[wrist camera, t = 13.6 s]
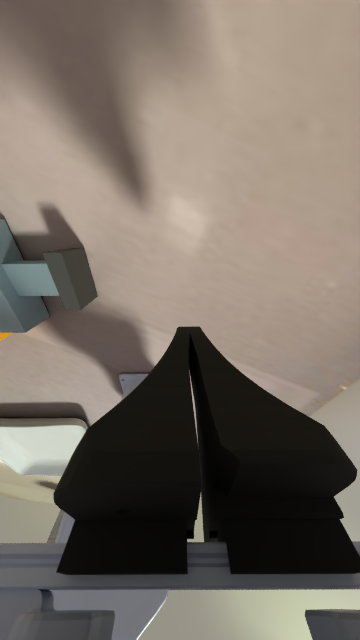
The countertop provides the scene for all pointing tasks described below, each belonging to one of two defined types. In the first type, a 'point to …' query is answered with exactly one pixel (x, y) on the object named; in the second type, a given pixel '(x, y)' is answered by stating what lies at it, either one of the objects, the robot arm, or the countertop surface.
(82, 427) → the salad plate
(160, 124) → the countertop surface
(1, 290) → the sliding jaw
